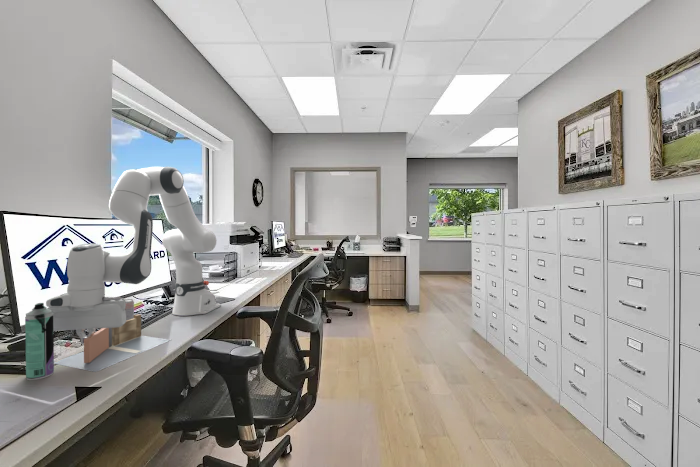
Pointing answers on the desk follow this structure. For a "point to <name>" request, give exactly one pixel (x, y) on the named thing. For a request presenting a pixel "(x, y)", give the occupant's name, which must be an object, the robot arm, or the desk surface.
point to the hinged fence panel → (97, 344)
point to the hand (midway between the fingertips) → (86, 342)
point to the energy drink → (129, 309)
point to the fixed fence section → (127, 330)
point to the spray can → (39, 342)
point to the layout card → (113, 354)
